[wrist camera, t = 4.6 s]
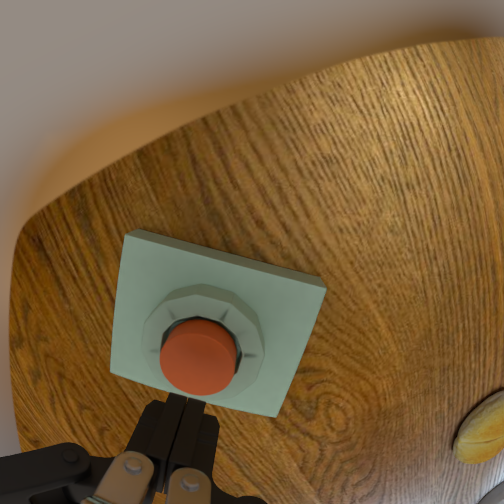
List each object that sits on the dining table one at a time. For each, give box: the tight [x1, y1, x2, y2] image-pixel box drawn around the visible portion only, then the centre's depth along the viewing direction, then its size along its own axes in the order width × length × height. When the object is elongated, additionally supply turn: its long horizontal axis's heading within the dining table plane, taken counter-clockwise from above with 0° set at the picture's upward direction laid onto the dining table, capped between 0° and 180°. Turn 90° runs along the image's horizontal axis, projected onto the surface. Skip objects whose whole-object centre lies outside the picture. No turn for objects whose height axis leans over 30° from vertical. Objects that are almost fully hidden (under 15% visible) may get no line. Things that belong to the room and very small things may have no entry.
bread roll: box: [453, 390, 504, 464], centre depth 21 cm, size 8×9×4 cm
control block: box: [110, 229, 327, 417], centre depth 19 cm, size 12×10×4 cm
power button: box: [159, 319, 237, 396], centre depth 17 cm, size 4×4×2 cm
